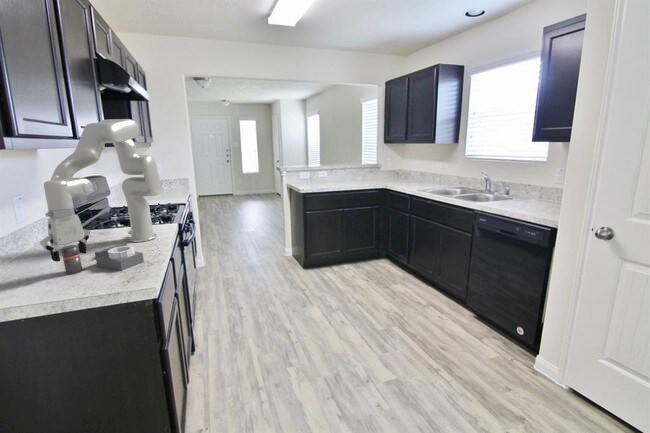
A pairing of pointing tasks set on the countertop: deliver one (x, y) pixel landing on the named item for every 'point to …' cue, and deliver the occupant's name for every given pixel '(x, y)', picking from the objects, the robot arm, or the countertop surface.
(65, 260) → the lens
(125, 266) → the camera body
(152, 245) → the countertop surface
